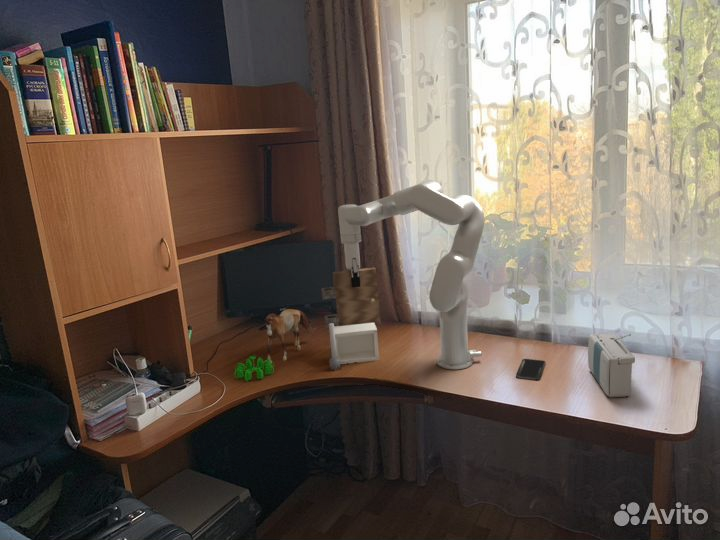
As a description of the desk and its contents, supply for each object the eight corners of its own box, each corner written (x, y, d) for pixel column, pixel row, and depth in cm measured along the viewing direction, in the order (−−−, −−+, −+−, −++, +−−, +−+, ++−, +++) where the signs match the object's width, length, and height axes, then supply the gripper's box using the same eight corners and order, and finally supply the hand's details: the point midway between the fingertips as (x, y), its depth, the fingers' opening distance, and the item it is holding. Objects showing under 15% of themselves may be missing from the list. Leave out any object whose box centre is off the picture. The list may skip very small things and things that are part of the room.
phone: (515, 375, 190) (523, 358, 203) (515, 379, 191) (523, 361, 204) (540, 378, 187) (546, 360, 200) (540, 381, 187) (546, 363, 200)
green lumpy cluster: (228, 373, 212) (226, 356, 211) (266, 362, 220) (264, 345, 218) (242, 387, 200) (240, 369, 198) (282, 375, 207) (280, 357, 205)
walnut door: (379, 321, 225) (374, 266, 220) (381, 325, 220) (376, 269, 215) (325, 328, 223) (319, 273, 218) (326, 332, 218) (320, 276, 213)
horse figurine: (274, 371, 210) (268, 318, 205) (257, 369, 214) (250, 316, 209) (318, 341, 237) (313, 293, 232) (302, 339, 240) (297, 292, 235)
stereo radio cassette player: (586, 370, 192) (588, 313, 187) (612, 369, 191) (614, 312, 186) (605, 399, 172) (607, 337, 167) (634, 399, 171) (637, 336, 166)
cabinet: (376, 351, 221) (373, 309, 217) (381, 365, 209) (377, 320, 205) (328, 357, 220) (324, 315, 215) (330, 370, 207) (326, 326, 203)
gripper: (339, 235, 221) (344, 281, 226) (342, 243, 205) (347, 292, 210) (358, 233, 222) (363, 279, 226) (363, 240, 206) (368, 290, 210)
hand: (355, 285), depth 218 cm, fingers closed on walnut door, 3 cm apart
